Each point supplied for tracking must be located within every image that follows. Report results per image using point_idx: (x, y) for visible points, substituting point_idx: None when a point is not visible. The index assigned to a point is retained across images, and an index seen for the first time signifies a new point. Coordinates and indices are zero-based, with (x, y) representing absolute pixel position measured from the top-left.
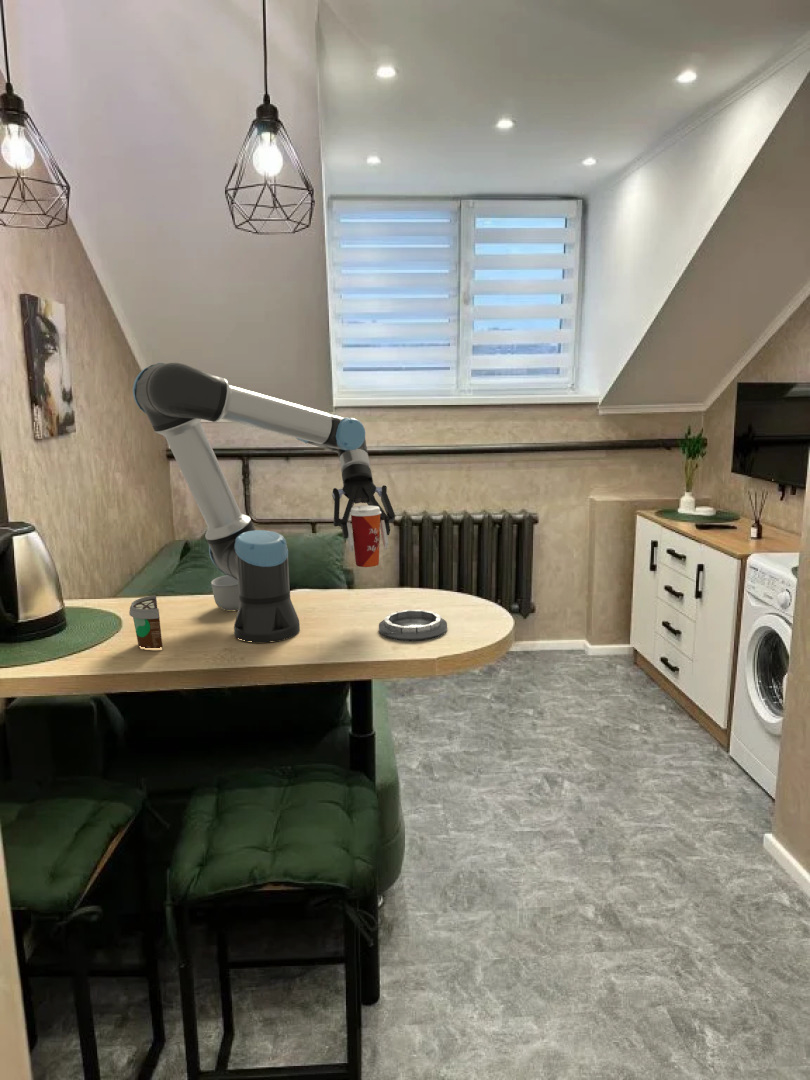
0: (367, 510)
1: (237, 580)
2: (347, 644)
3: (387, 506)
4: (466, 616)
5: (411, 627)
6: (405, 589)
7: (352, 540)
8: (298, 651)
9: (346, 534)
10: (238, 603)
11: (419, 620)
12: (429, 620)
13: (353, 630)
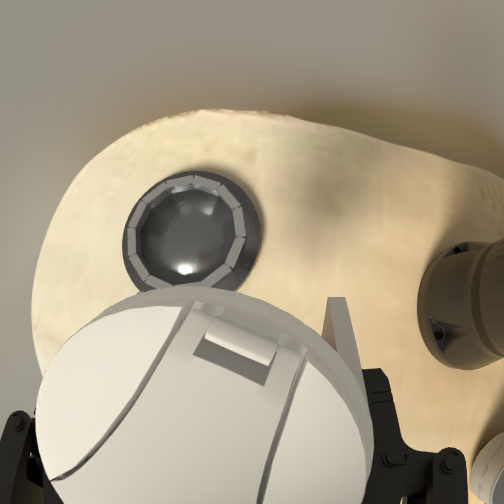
0: (178, 305)
1: (498, 501)
2: (332, 195)
3: (8, 493)
4: (78, 281)
5: (203, 178)
6: None
7: (334, 319)
8: (414, 191)
9: (368, 371)
10: (502, 433)
11: (166, 256)
12: (148, 250)
13: (311, 271)
